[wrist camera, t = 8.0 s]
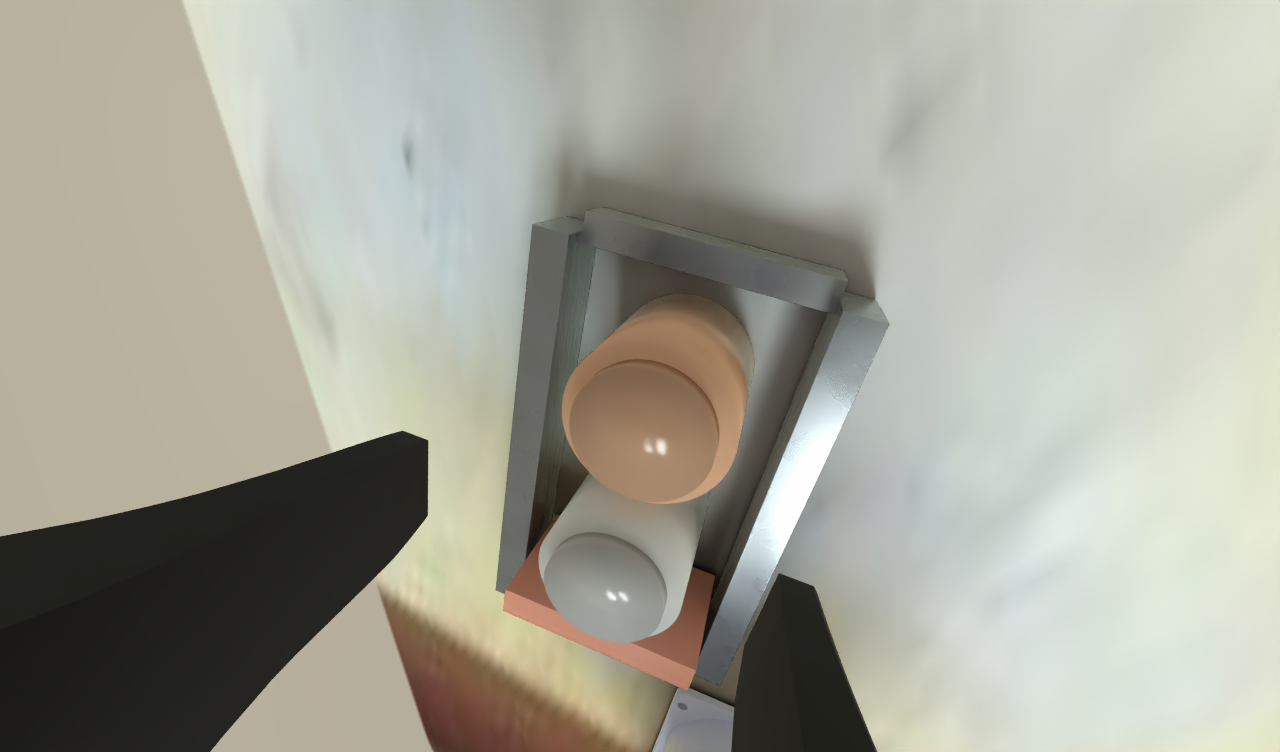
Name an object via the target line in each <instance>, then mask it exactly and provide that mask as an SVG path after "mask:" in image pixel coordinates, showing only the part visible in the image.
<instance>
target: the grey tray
mask: <svg viewBox="0 0 1280 752" xmlns="http://www.w3.org/2000/svg"><path fill="white" fill-rule="evenodd" d="M596 248H599V249H603V250H606V251H610V252H614V253H617V254H621V255H624V256H628V257H631V258H635V259H639V260H642V261H646V262H649V263H653V264H656V265H660V266H663V267H667V268H671V269H674V270H678V271H681V272H685V273H688V274H692V275H696V276H699V277H703V278H706V279H710V280H713V281H717V282H720V283H724V284H728V285H731V286H735V287H738V288H742V289H745V290H749V291H753V292H756V293H760V294H763V295H767V296H770V297H774V298H777V299H781V300H785V301H788V302H792V303H795V304H799V305H802V306H806V307H810V308H813V309H817V310H820V311H824V312H827V315H826V318H825V320H824V323H823V325H822V328H821V330H820V333H819V335H818V338H817V340H816V343H815V345H814V348H813V350H812V353H811V355H810V358H809V360H808V362H807V365H806V367H805V370H804V372H803V375H802V377H801V380H800V382H799V385H798V387H797V390H796V392H795V395H794V397H793V400H792V402H791V405H790V407H789V410H788V412H787V415H786V417H785V420H784V422H783V425H782V427H781V430H780V432H779V435H778V437H777V440H776V442H775V445H774V447H773V450H772V452H771V455H770V457H769V460H768V462H767V465H766V467H765V470H764V472H763V475H762V477H761V479H760V482H759V484H758V487H757V489H756V492H755V494H754V497H753V499H752V502H751V504H750V507H749V509H748V512H747V514H746V517H745V519H744V522H743V524H742V527H741V529H740V532H739V534H738V537H737V539H736V542H735V544H734V547H733V549H732V552H731V554H730V557H729V559H728V562H727V564H726V567H725V569H724V572H723V574H722V577H721V579H720V582H719V584H718V587H717V589H716V592H715V594H714V596H713V599H712V601H711V604H710V606H709V609H708V614H707V619H706V624H705V629H704V634H703V639H702V644H701V649H700V654H699V659H698V664H697V669H696V672H695V674H694V675H695V676H698V677H700V678H702V679H705V680H707V681H709V682H712V683H714V684H716V685H719V686H720V685H721V683H722V681H723V678H724V676H725V674H726V672H727V670H728V668H729V666H730V664H731V661H732V659H733V657H734V655H735V653H736V651H737V649H738V646H739V644H740V642H741V640H742V638H743V636H744V634H745V632H746V629H747V627H748V625H749V623H750V621H751V619H752V617H753V614H754V612H755V610H756V608H757V606H758V604H759V602H760V600H761V597H762V595H763V593H764V591H765V589H766V587H767V585H768V582H769V580H770V578H771V576H772V574H773V572H774V570H775V568H776V565H777V563H778V561H779V559H780V557H781V555H782V553H783V550H784V548H785V546H786V544H787V542H788V540H789V538H790V535H791V533H792V531H793V529H794V527H795V525H796V523H797V521H798V518H799V516H800V514H801V512H802V510H803V508H804V506H805V503H806V501H807V499H808V497H809V495H810V493H811V491H812V489H813V486H814V484H815V482H816V480H817V478H818V476H819V474H820V471H821V469H822V467H823V465H824V463H825V461H826V459H827V457H828V454H829V452H830V450H831V448H832V446H833V444H834V442H835V439H836V437H837V435H838V433H839V431H840V429H841V427H842V424H843V422H844V420H845V418H846V416H847V414H848V412H849V410H850V407H851V405H852V403H853V401H854V399H855V397H856V395H857V392H858V390H859V388H860V386H861V384H862V382H863V380H864V378H865V375H866V373H867V371H868V369H869V367H870V365H871V363H872V360H873V358H874V356H875V354H876V352H877V350H878V348H879V346H880V343H881V341H882V339H883V337H884V335H885V333H886V331H887V328H888V326H889V322H888V320H887V318H886V317H885V315H884V313H883V311H882V310H881V308H880V306H879V304H878V303H877V301H876V300H874V299H870V298H866V297H863V296H859V295H855V294H852V293H848V292H845V289H846V287H847V285H848V282H849V281H848V278H847V276H846V274H845V271H843V270H839V269H835V268H832V267H828V266H824V265H820V264H817V263H813V262H809V261H805V260H801V259H798V258H794V257H790V256H786V255H783V254H779V253H775V252H771V251H767V250H764V249H760V248H756V247H752V246H748V245H745V244H741V243H737V242H733V241H730V240H726V239H722V238H718V237H714V236H711V235H707V234H703V233H699V232H696V231H692V230H688V229H684V228H680V227H677V226H673V225H669V224H665V223H662V222H658V221H654V220H650V219H646V218H643V217H639V216H635V215H631V214H627V213H624V212H620V211H616V210H612V209H609V208H605V207H600V208H596V209H591V210H587V211H585V216H584V221H583V220H579V219H575V218H572V217H568V216H566V217H562V218H558V219H554V220H549V221H545V222H541V223H537V224H532V234H531V244H530V254H529V264H528V274H527V284H526V294H525V304H524V314H523V324H522V334H521V344H520V354H519V364H518V374H517V383H516V393H515V403H514V413H513V423H512V433H511V443H510V453H509V463H508V473H507V483H506V493H505V503H504V513H503V523H502V533H501V543H500V553H499V563H498V572H497V582H496V591H499V592H501V593H503V594H505V589H506V588H507V587H508V585H509V584H510V582H511V581H512V579H513V578H514V576H515V575H516V573H517V572H518V570H519V569H520V568H521V566H522V565H523V563H524V562H525V560H526V559H527V557H528V556H529V554H530V553H531V551H532V550H533V549H534V547H535V546H536V544H537V543H538V541H539V540H540V538H541V537H542V535H543V534H544V532H545V531H546V530H547V528H548V527H549V525H550V524H551V522H552V516H553V510H554V504H555V498H556V491H557V485H558V479H559V473H560V467H561V460H562V454H563V448H564V442H565V436H566V433H565V430H564V426H563V420H562V400H563V394H564V391H565V387H566V385H567V382H568V380H569V378H570V376H571V375H572V373H573V372H574V370H575V369H576V367H577V362H578V355H579V349H580V343H581V337H582V331H583V324H584V318H585V312H586V306H587V300H588V293H589V287H590V281H591V275H592V269H593V263H594V256H595V250H596Z"/></svg>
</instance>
